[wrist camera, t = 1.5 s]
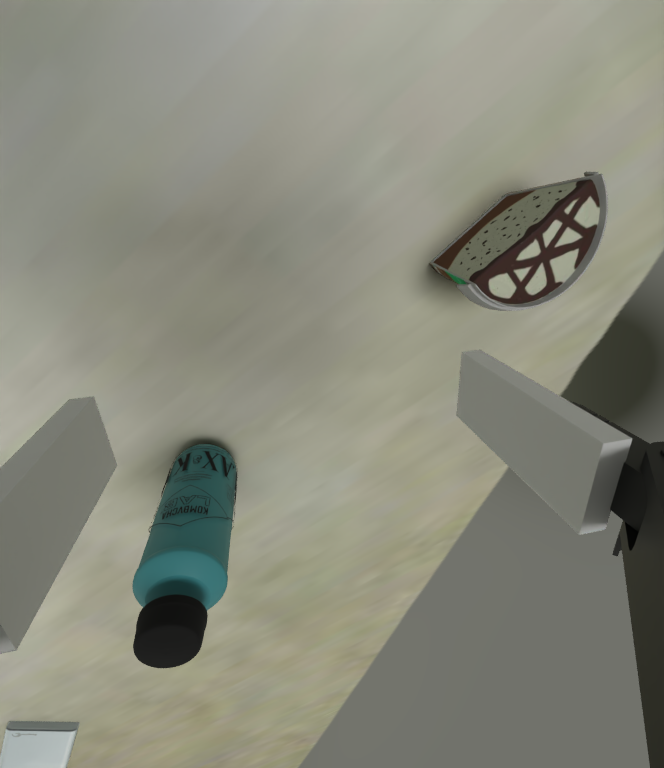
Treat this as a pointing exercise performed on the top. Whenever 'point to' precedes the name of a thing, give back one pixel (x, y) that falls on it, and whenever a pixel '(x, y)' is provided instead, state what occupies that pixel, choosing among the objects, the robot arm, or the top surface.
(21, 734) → the hard drive
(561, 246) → the brown semicircular wedge
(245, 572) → the top surface
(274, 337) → the top surface
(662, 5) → the top surface
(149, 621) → the beverage bottle
